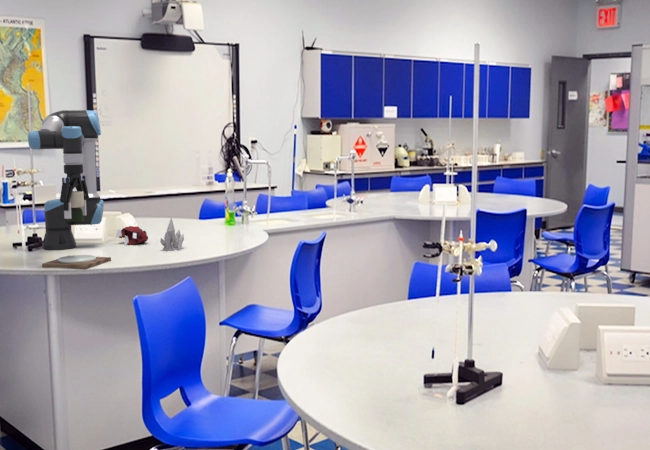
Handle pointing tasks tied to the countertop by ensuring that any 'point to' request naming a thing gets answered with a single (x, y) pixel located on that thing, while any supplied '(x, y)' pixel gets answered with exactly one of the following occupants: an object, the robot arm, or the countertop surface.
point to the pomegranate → (132, 235)
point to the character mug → (76, 206)
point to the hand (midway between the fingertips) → (75, 216)
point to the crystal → (172, 239)
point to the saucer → (77, 259)
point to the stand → (76, 266)
